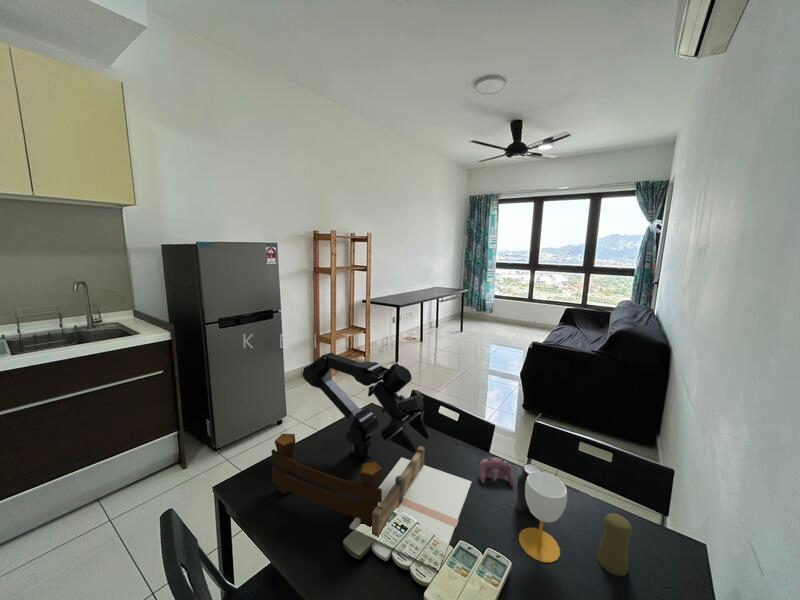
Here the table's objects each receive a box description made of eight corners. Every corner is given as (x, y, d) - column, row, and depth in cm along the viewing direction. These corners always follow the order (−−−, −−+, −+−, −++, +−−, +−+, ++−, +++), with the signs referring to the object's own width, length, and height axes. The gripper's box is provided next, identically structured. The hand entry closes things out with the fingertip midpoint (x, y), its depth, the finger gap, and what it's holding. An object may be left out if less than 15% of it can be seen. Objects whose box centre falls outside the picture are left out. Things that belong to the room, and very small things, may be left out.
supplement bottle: (541, 504, 88) (546, 464, 86) (543, 523, 82) (549, 481, 80) (514, 497, 90) (519, 458, 88) (515, 515, 84) (519, 474, 82)
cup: (555, 532, 79) (562, 474, 77) (564, 567, 71) (574, 503, 68) (516, 524, 81) (522, 467, 79) (521, 557, 73) (528, 494, 70)
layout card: (349, 527, 78) (349, 525, 78) (401, 458, 105) (401, 457, 105) (440, 571, 69) (440, 569, 69) (472, 483, 95) (472, 481, 95)
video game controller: (511, 483, 98) (510, 458, 100) (515, 487, 93) (514, 461, 96) (478, 480, 99) (478, 455, 101) (480, 484, 94) (480, 457, 96)
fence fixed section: (371, 535, 76) (371, 511, 75) (396, 495, 88) (397, 474, 87) (379, 538, 75) (379, 514, 74) (404, 498, 88) (405, 477, 87)
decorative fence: (269, 490, 89) (268, 440, 86) (284, 476, 94) (283, 429, 92) (378, 537, 76) (380, 480, 73) (389, 518, 81) (391, 465, 79)
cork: (590, 550, 75) (596, 508, 73) (614, 549, 76) (621, 508, 74) (608, 576, 69) (616, 532, 67) (635, 575, 70) (643, 530, 68)
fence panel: (404, 496, 88) (404, 476, 87) (398, 493, 89) (399, 474, 88) (423, 464, 101) (424, 447, 100) (418, 462, 102) (419, 445, 101)
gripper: (391, 393, 86) (428, 444, 81) (420, 376, 102) (451, 418, 98) (366, 416, 90) (400, 466, 85) (397, 396, 106) (426, 437, 102)
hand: (421, 444), depth 92 cm, fingers open, 9 cm apart
